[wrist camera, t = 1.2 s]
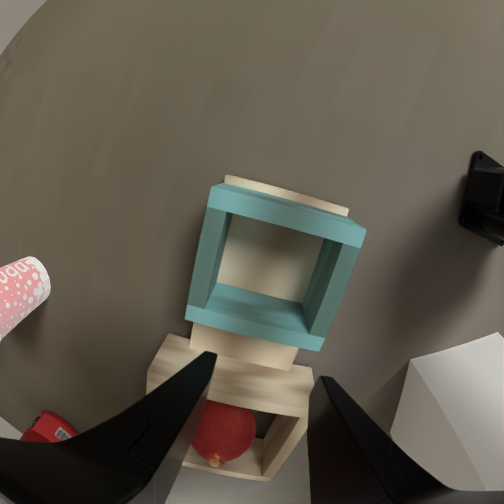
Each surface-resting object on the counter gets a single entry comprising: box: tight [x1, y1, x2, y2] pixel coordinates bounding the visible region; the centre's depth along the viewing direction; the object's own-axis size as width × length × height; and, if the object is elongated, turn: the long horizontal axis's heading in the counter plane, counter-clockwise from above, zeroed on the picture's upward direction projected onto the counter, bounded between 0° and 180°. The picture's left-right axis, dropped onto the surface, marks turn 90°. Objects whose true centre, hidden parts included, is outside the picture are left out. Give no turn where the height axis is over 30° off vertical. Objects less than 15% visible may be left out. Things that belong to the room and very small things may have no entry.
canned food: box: [20, 411, 78, 443], centre depth 24 cm, size 8×8×11 cm
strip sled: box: [146, 175, 367, 482], centre depth 20 cm, size 12×25×5 cm, turn 166°
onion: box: [191, 399, 257, 467], centre depth 20 cm, size 6×6×8 cm
